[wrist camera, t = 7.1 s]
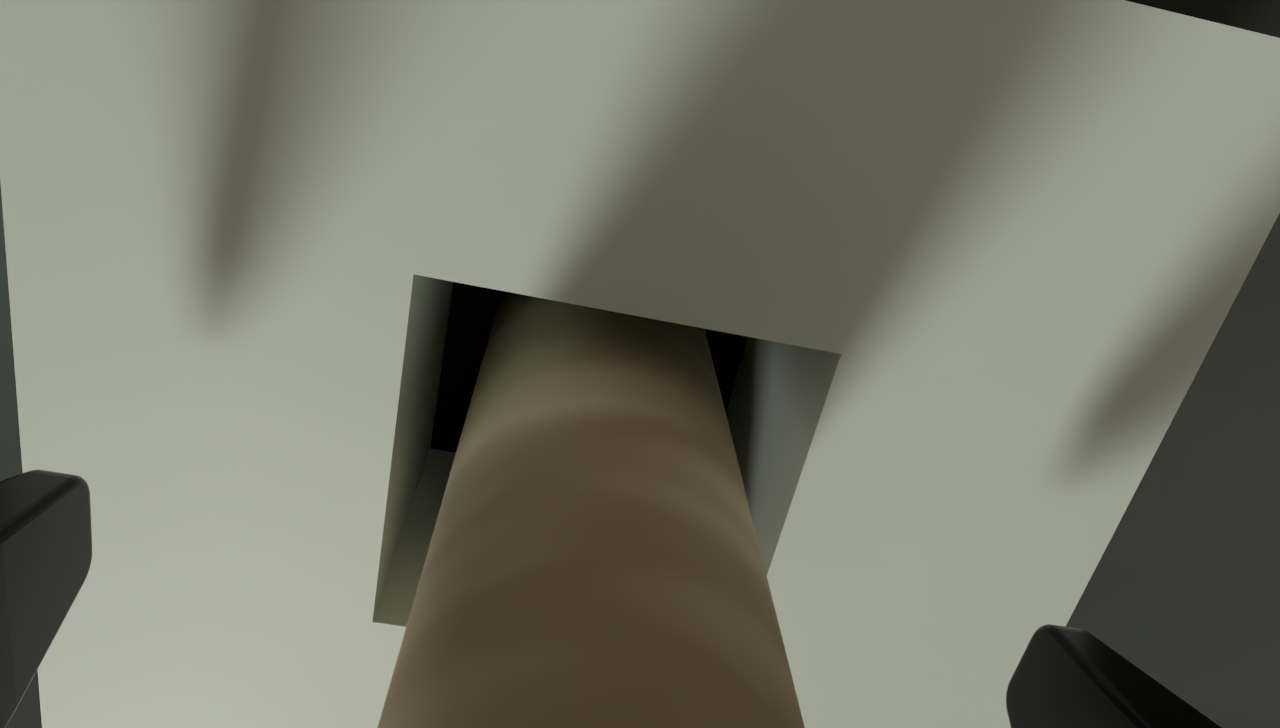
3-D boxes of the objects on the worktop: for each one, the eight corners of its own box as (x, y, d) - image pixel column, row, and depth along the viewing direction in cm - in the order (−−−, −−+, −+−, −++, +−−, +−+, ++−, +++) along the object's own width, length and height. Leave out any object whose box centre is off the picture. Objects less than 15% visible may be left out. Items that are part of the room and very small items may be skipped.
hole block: (1134, 18, 12) (1359, 57, 8) (853, 697, 17) (921, 905, 13) (183, -212, 11) (-36, -283, 7) (177, 602, 16) (48, 807, 12)
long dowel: (729, 267, 13) (990, 972, 4) (678, 455, 15) (795, 1295, 6) (509, 224, 13) (291, 898, 4) (476, 420, 14) (257, 1266, 5)
